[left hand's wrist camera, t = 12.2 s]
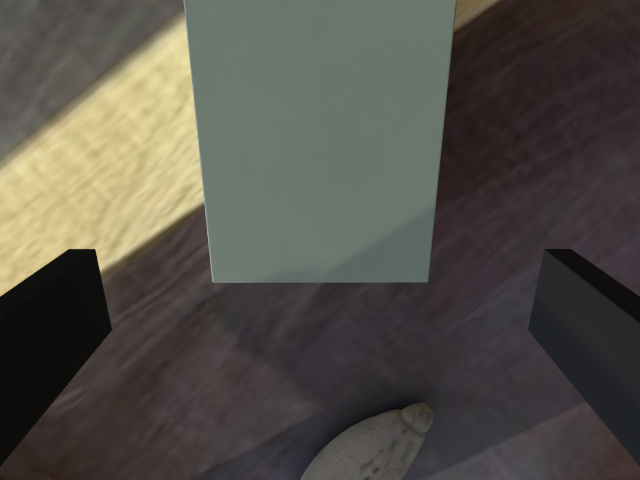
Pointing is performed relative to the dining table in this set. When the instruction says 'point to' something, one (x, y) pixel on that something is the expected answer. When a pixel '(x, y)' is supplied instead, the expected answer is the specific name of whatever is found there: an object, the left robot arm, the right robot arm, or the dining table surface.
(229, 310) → the dining table surface
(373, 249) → the cabinet
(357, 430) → the decorative stone
